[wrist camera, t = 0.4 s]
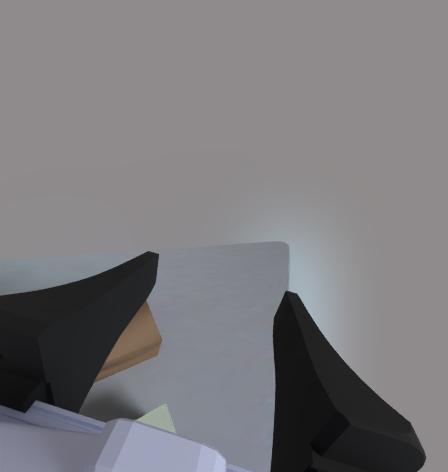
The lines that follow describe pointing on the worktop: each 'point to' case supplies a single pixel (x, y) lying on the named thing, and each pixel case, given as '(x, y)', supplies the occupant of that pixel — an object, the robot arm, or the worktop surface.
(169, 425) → the sage brick
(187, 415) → the worktop surface
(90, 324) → the robot arm
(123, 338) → the walnut block
